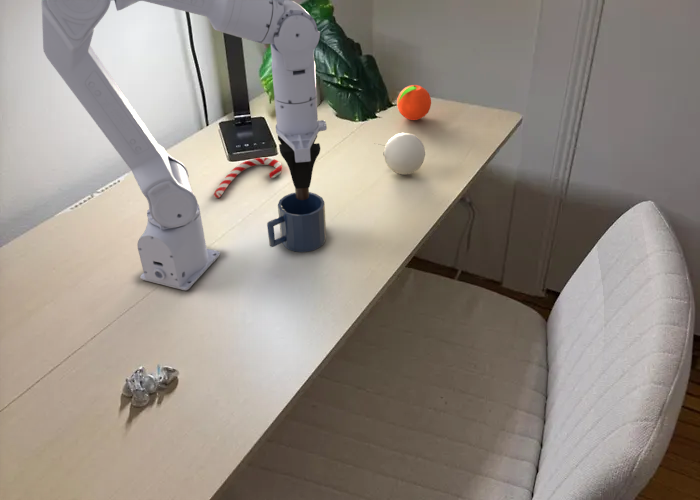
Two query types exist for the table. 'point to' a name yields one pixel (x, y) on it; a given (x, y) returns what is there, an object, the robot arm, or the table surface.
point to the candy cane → (245, 165)
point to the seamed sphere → (404, 153)
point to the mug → (299, 223)
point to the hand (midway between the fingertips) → (301, 182)
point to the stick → (302, 193)
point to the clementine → (414, 102)
